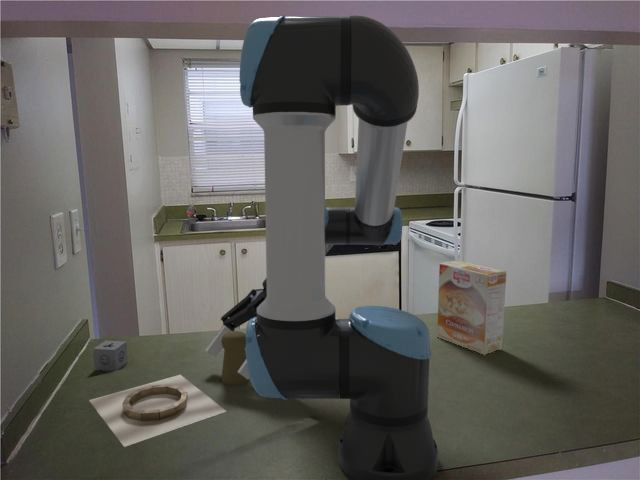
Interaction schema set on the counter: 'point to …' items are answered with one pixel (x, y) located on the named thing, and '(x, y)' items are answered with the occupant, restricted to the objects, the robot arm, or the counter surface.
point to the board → (142, 430)
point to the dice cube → (110, 355)
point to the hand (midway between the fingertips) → (225, 364)
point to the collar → (160, 413)
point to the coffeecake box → (471, 305)
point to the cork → (233, 357)
